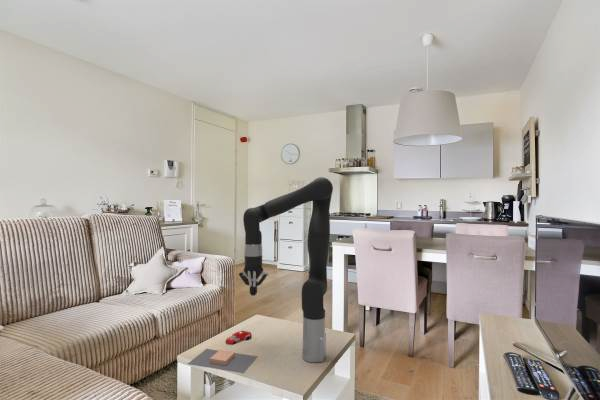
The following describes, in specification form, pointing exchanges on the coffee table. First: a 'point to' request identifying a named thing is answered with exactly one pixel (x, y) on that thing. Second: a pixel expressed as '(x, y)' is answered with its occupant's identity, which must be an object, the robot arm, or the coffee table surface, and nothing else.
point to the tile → (222, 357)
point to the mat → (236, 365)
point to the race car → (238, 337)
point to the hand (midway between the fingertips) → (253, 295)
